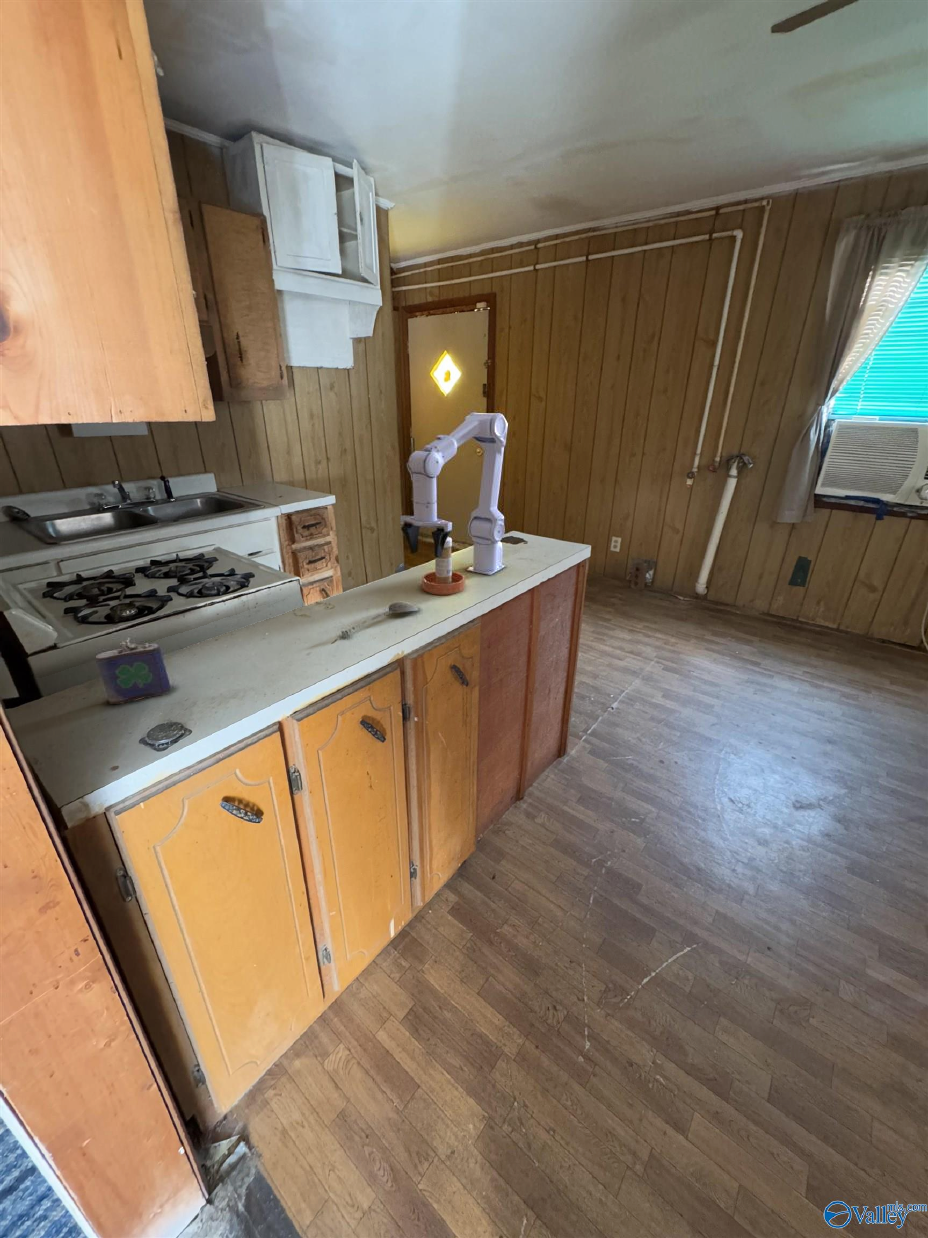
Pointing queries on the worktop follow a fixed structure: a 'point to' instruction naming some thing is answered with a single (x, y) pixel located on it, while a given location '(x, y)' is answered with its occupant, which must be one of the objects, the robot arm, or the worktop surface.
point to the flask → (133, 672)
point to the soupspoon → (393, 608)
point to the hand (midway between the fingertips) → (426, 554)
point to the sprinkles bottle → (444, 564)
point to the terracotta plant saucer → (443, 589)
